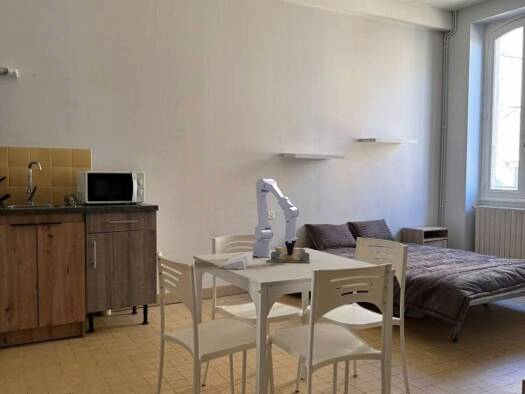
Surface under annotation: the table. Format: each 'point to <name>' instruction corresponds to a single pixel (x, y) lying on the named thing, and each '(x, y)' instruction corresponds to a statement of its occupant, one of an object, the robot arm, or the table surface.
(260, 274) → the table surface
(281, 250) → the slat
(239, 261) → the decorative molding
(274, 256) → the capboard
